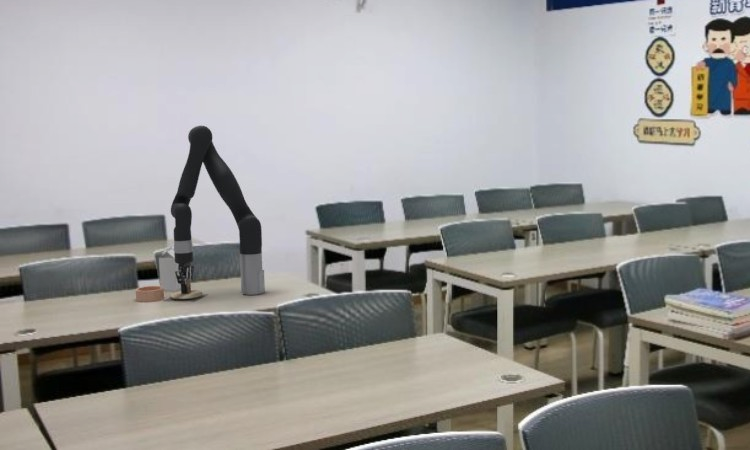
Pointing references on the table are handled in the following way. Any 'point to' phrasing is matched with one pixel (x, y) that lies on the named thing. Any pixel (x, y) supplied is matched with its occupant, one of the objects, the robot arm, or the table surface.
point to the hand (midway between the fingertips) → (186, 291)
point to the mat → (187, 299)
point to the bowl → (149, 294)
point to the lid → (187, 295)
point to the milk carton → (168, 271)
